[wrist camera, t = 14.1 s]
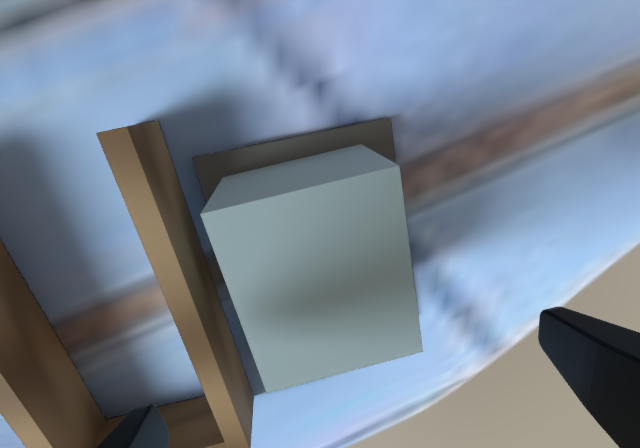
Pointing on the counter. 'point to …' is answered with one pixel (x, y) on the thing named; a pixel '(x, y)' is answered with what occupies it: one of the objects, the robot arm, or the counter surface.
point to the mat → (292, 151)
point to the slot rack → (183, 301)
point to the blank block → (317, 264)
